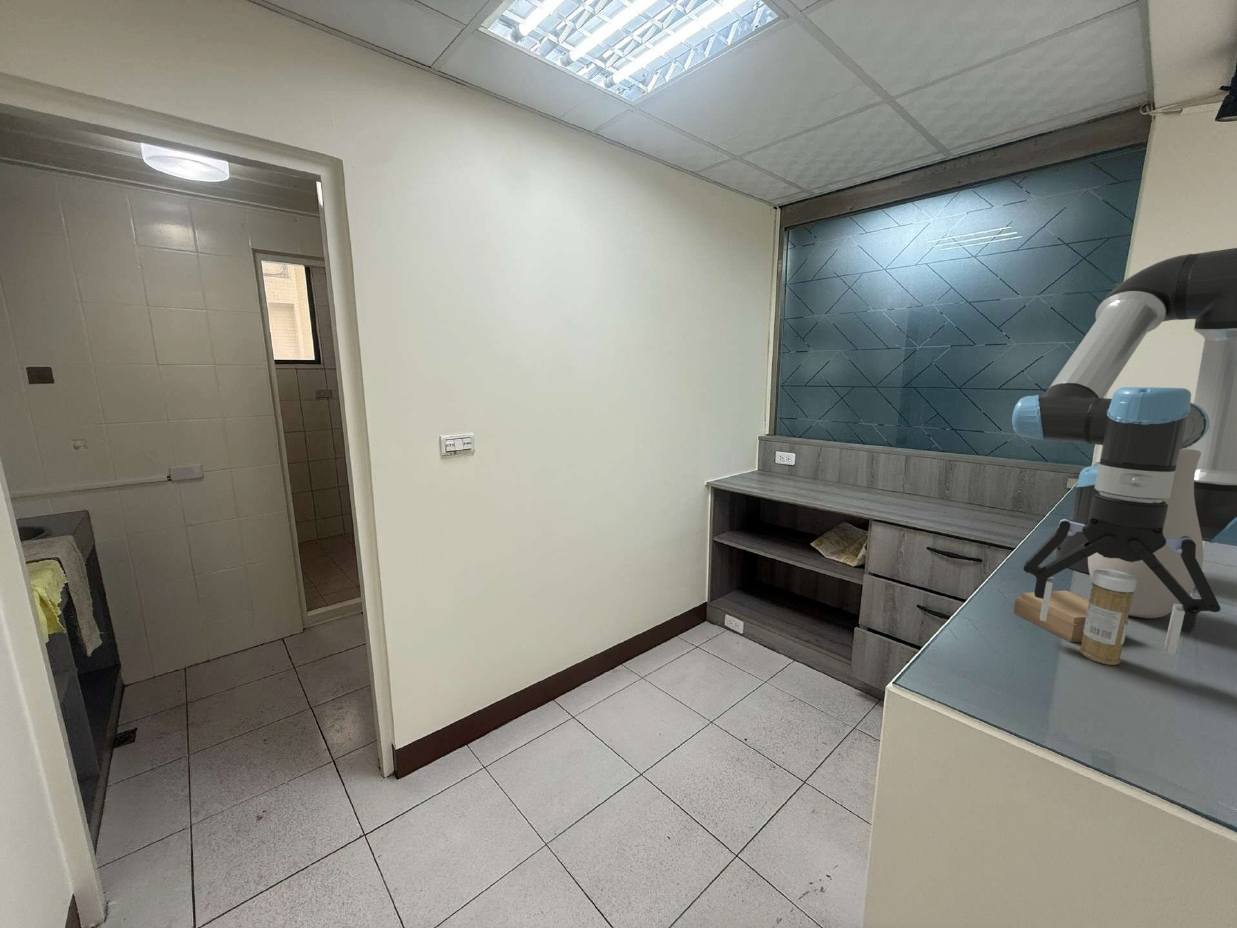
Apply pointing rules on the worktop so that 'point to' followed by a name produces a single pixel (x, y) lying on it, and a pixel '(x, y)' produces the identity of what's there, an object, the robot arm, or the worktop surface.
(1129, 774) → the worktop surface
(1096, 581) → the sprinkles bottle
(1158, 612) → the vase
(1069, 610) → the pedestal
